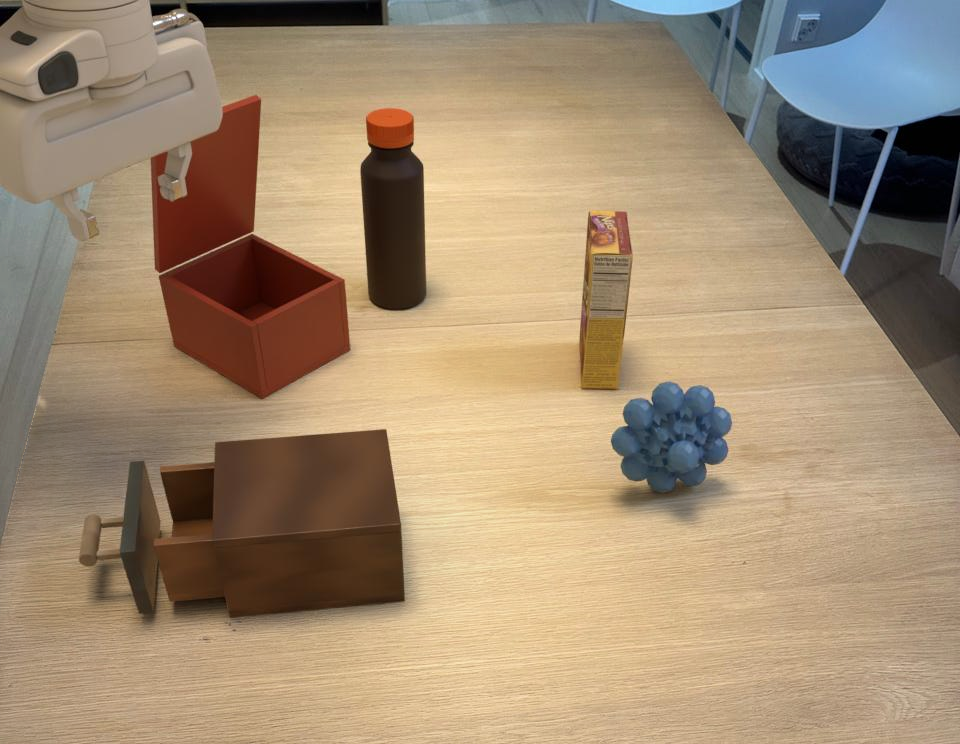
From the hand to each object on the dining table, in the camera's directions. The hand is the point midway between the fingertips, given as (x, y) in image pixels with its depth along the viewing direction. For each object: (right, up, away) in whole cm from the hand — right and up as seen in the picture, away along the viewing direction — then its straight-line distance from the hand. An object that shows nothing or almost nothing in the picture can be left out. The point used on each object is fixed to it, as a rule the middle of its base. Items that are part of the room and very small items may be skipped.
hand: (131, 216), depth 89 cm
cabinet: (+15, -28, +4) cm, 32 cm away
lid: (+2, +10, +17) cm, 20 cm away
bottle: (+20, +5, +35) cm, 40 cm away
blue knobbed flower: (+47, -22, +11) cm, 53 cm away
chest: (+5, -4, +27) cm, 27 cm away
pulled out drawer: (+5, -29, +2) cm, 29 cm away
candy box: (+42, -6, +25) cm, 49 cm away
